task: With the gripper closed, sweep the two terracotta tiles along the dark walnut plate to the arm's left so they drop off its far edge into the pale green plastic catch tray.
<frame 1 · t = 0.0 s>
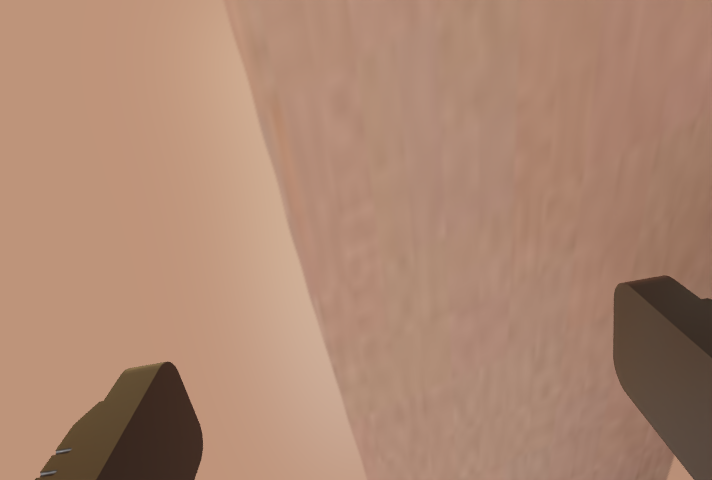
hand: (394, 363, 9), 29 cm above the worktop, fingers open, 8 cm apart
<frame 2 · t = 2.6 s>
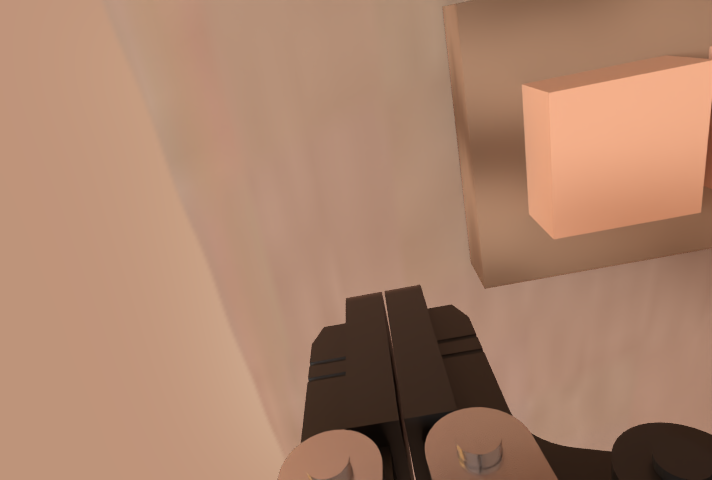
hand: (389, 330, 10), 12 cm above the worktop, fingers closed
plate: (662, 108, 20), on the worktop
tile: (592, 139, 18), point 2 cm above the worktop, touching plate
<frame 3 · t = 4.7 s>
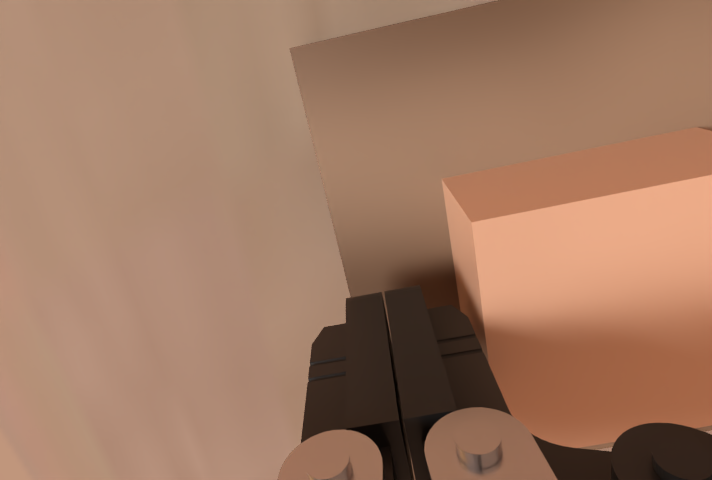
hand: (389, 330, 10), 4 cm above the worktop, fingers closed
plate: (672, 196, 13), on the worktop
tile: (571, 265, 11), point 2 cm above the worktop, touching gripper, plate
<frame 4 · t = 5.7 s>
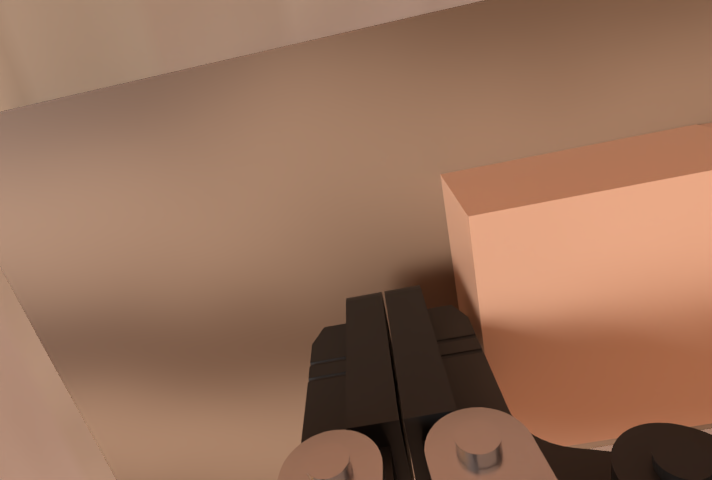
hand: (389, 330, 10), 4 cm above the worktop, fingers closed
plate: (400, 248, 13), on the worktop
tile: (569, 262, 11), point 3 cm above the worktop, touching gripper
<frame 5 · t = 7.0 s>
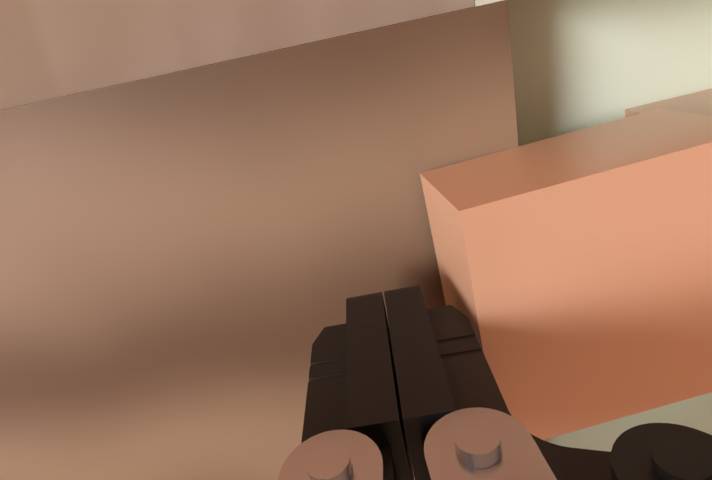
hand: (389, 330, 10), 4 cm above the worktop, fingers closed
tray: (668, 197, 13), on the worktop
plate: (194, 285, 14), on the worktop
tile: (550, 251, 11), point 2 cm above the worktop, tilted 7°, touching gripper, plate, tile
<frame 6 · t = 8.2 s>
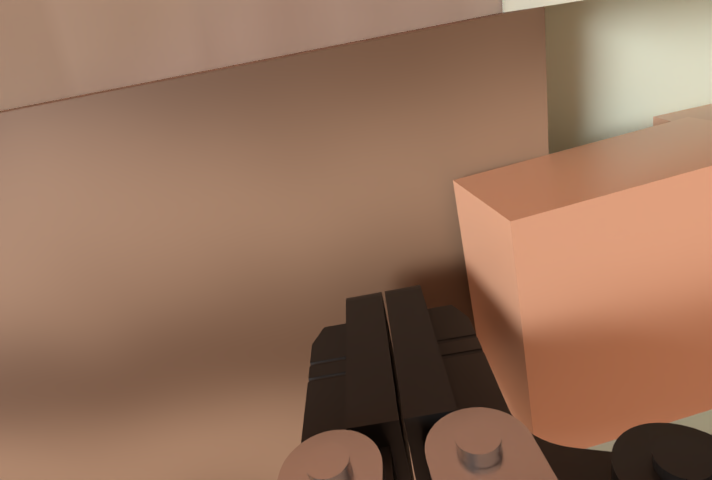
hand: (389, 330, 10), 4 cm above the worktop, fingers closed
tray: (687, 206, 13), on the worktop
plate: (208, 288, 13), on the worktop
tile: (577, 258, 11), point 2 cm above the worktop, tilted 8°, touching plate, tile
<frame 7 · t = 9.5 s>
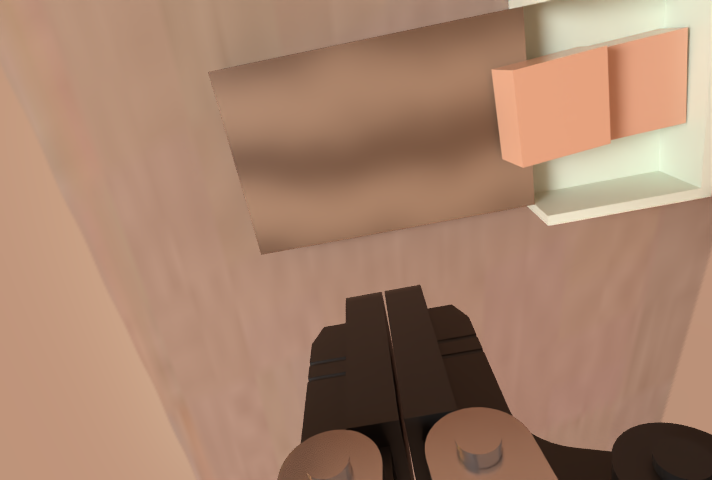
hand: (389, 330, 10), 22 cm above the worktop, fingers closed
tray: (590, 92, 29), on the worktop
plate: (378, 134, 30), on the worktop
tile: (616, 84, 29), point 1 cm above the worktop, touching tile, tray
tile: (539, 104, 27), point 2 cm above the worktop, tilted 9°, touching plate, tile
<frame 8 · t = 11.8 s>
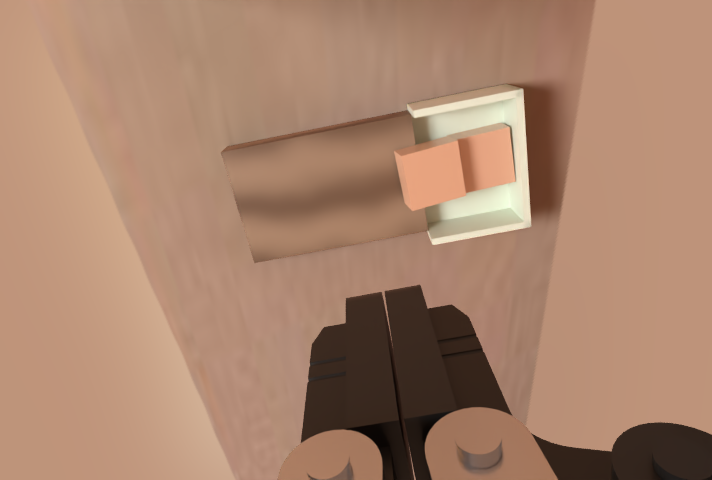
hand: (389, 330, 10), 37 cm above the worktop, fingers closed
tray: (463, 159, 46), on the worktop
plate: (329, 185, 47), on the worktop
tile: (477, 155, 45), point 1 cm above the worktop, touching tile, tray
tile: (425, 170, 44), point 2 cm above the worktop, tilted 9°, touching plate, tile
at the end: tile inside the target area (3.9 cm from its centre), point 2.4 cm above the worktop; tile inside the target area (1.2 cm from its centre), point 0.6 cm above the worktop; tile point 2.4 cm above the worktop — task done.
